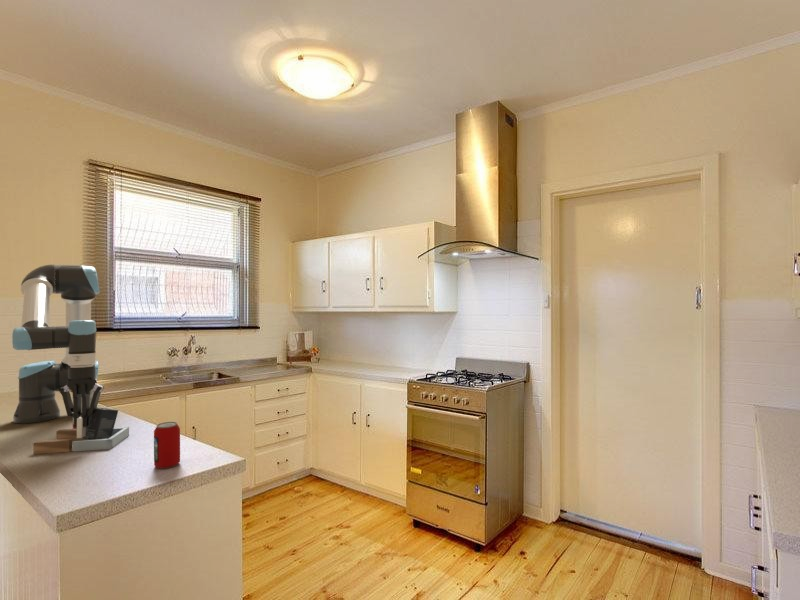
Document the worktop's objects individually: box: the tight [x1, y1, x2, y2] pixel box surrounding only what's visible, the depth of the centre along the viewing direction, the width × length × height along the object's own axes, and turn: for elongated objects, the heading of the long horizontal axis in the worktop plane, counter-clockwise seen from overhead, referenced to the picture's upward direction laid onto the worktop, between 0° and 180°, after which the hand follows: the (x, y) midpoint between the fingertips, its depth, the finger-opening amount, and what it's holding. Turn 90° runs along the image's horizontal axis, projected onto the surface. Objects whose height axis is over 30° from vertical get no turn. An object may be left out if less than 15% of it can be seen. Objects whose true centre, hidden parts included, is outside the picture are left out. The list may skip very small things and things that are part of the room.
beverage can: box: [153, 421, 181, 470], centre depth 130 cm, size 7×7×12 cm
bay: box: [72, 426, 130, 452], centre depth 151 cm, size 15×11×3 cm
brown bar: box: [32, 428, 87, 455], centre depth 149 cm, size 15×10×4 cm, turn 11°
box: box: [82, 407, 119, 440], centre depth 153 cm, size 8×6×11 cm
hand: (81, 436), depth 149 cm, fingers closed
